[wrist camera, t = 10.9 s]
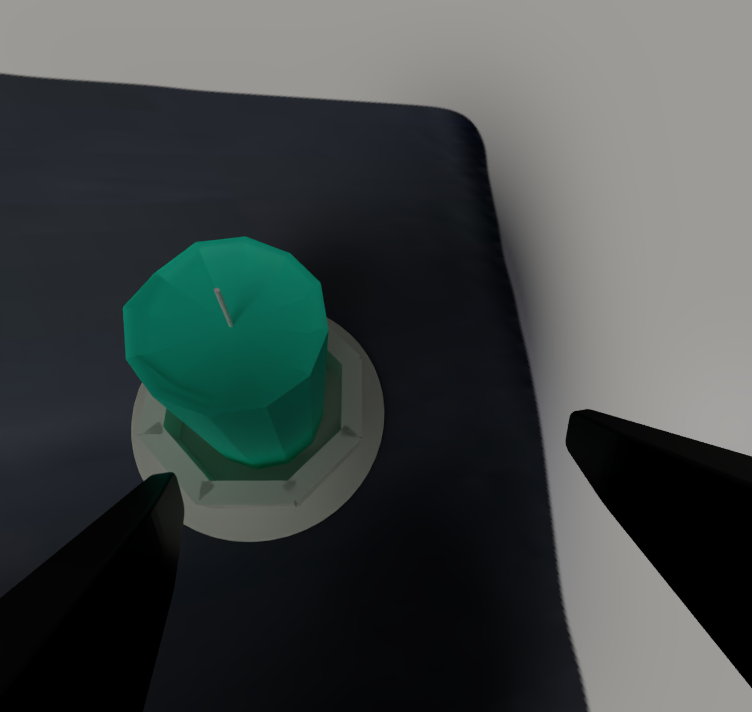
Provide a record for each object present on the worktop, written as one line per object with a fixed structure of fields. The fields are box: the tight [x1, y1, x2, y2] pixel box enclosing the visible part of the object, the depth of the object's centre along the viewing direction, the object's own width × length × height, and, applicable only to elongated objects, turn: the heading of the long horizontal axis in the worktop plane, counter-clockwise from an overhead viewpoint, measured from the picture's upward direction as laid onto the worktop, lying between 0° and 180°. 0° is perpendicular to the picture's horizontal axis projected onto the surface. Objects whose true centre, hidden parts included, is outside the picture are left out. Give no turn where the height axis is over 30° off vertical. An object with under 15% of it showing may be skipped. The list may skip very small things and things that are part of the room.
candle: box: [123, 237, 329, 469], centre depth 16 cm, size 6×6×12 cm
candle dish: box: [131, 317, 384, 542], centre depth 21 cm, size 13×13×4 cm
